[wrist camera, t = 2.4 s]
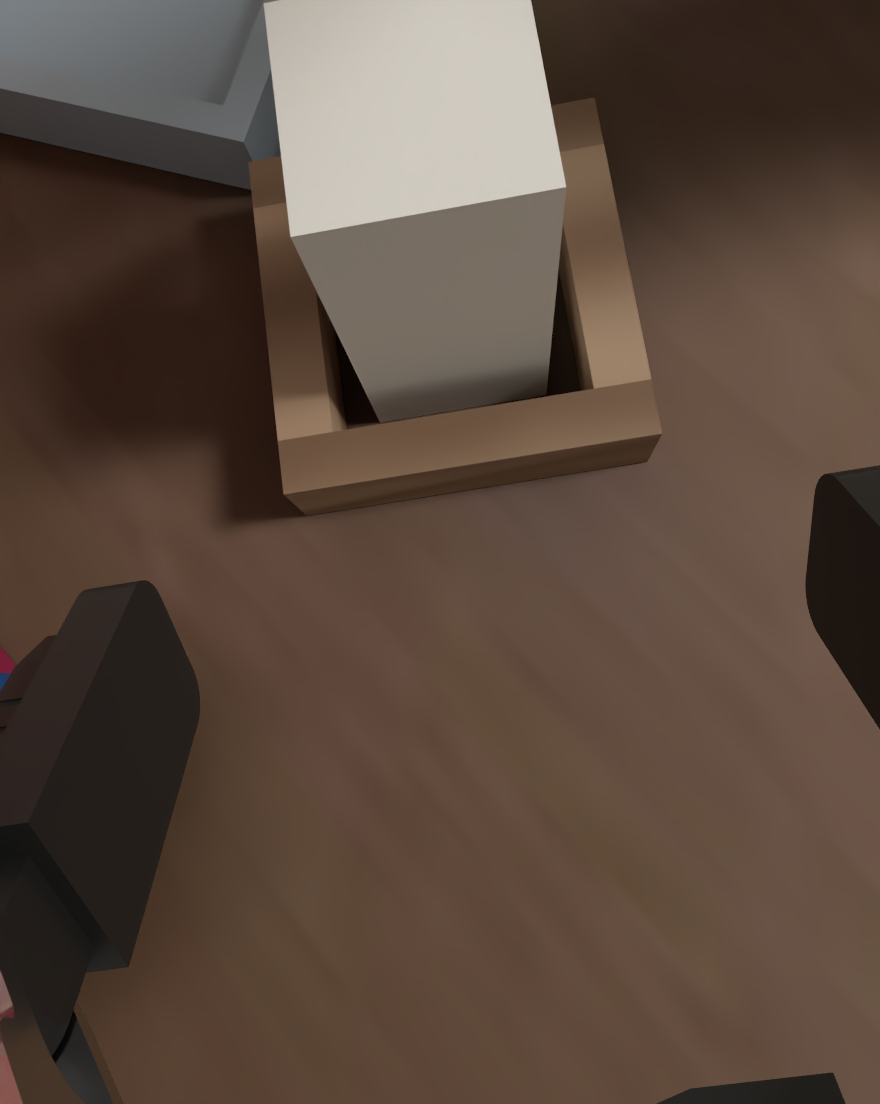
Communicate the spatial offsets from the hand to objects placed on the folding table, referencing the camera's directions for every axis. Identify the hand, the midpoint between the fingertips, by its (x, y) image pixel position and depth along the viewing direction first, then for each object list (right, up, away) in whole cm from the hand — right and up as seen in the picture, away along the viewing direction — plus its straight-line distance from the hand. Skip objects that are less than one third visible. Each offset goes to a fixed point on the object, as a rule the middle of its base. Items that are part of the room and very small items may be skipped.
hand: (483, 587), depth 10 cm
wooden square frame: (0, +7, +15) cm, 16 cm away
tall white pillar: (0, +7, +15) cm, 16 cm away
